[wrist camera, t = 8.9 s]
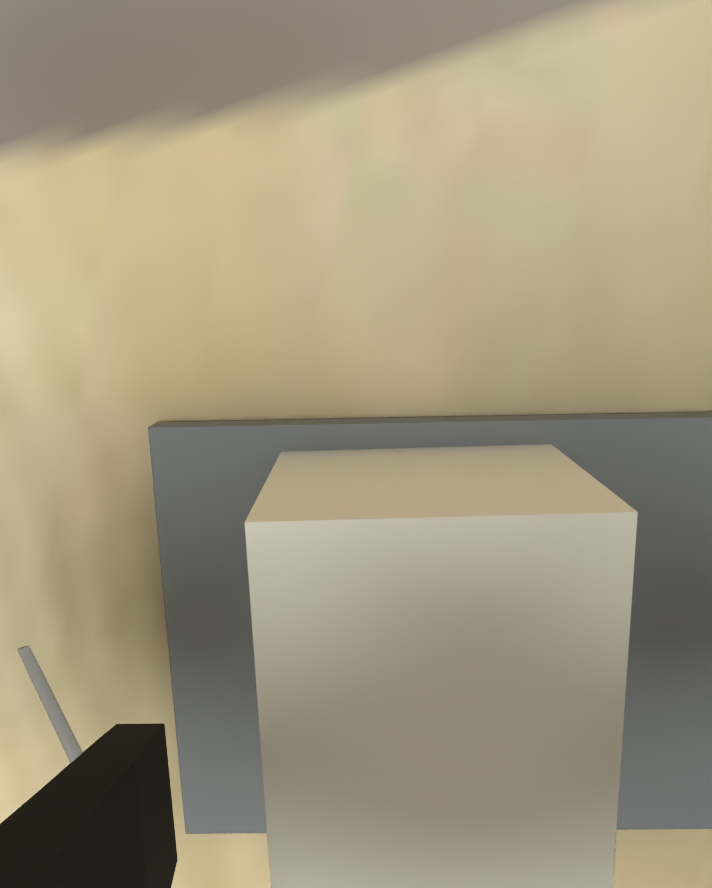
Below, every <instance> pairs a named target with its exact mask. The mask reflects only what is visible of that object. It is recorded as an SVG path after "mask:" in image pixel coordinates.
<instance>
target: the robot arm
mask: <svg viewBox="0 0 712 888" xmlns="http://www.w3.org/2000/svg"><path fill="white" fill-rule="evenodd" d="M176 863H177V851H176V841H175V830H174V820H173V809H172V799H171V788H170V778H169V768H168V757H167V747H166V736H165V726H164V724H116V725H115V726H114V727H113V728H111V729H110V730H109V731H108V732H106V733H105V734H104V735H103V736H102V737H100V738H99V739H98V740H97V741H96V742H95V743H93V744H92V745H91V746H90V747H89V748H88V749H86V750H85V751H84V752H83V753H82V754H81V755H80V756H78V757H77V758H76V759H75V760H74V761H73V762H72V763H70V764H69V765H68V766H67V767H66V768H65V769H64V770H62V771H61V772H60V773H59V774H58V775H57V776H56V777H54V778H53V779H52V780H51V781H50V782H49V783H48V784H46V785H45V786H44V787H43V788H42V789H41V790H39V791H38V792H37V793H36V794H35V795H34V796H32V797H31V798H30V799H29V800H28V801H27V802H25V803H24V804H23V805H22V806H21V807H20V808H18V809H17V810H16V811H15V812H14V813H13V814H11V815H10V816H9V817H8V818H7V819H6V820H4V821H3V822H2V823H1V824H0V888H171V885H172V880H173V876H174V872H175V867H176Z"/></svg>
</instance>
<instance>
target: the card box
mask: <svg viewBox="0 0 712 888" xmlns="http://www.w3.org/2000/svg"><path fill="white" fill-rule="evenodd" d="M637 515H638V512H637V511H636V510H635V509H633V508H632V507H631V506H629V505H628V504H627V503H626V502H624V501H623V500H622V499H621V498H619V497H618V496H617V495H615V494H614V493H613V492H612V491H610V490H609V489H608V488H607V487H605V486H604V485H603V484H601V483H600V482H599V481H598V480H596V479H595V478H594V477H593V476H591V475H590V474H589V473H587V472H586V471H585V470H584V469H582V468H581V467H580V466H579V465H577V464H576V463H575V462H573V461H572V460H571V459H570V458H568V457H567V456H566V455H565V454H563V453H562V452H561V451H559V450H558V449H557V448H556V447H554V446H553V445H552V444H538V445H502V446H466V447H431V448H395V449H359V450H324V451H288V452H281V453H280V455H279V457H278V459H277V461H276V463H275V465H274V467H273V468H272V470H271V472H270V474H269V476H268V478H267V480H266V482H265V484H264V486H263V488H262V490H261V492H260V494H259V495H258V497H257V499H256V501H255V503H254V505H253V507H252V509H251V511H250V513H249V515H248V517H247V519H246V521H245V535H246V549H247V563H248V577H249V591H250V605H251V618H252V632H253V646H254V660H255V674H256V688H257V702H258V715H259V729H260V743H261V757H262V771H263V785H264V799H265V812H266V826H267V840H268V854H269V868H270V882H271V888H612V887H613V872H614V857H615V843H616V828H617V813H618V798H619V783H620V768H621V753H622V738H623V723H624V709H625V694H626V679H627V664H628V649H629V634H630V619H631V604H632V589H633V575H634V560H635V545H636V530H637Z"/></svg>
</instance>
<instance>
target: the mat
mask: <svg viewBox="0 0 712 888" xmlns="http://www.w3.org/2000/svg"><path fill="white" fill-rule="evenodd" d="M148 431H149V441H150V452H151V463H152V474H153V485H154V496H155V507H156V517H157V528H158V539H159V550H160V561H161V572H162V583H163V593H164V604H165V615H166V626H167V637H168V648H169V659H170V670H171V680H172V691H173V702H174V713H175V724H176V735H177V746H178V756H179V767H180V778H181V789H182V800H183V811H184V822H185V832H186V834H213V833H267V826H266V812H265V799H264V785H263V771H262V757H261V743H260V729H259V715H258V702H257V688H256V674H255V660H254V646H253V632H252V618H251V605H250V591H249V577H248V563H247V549H246V535H245V521H246V519H247V517H248V515H249V513H250V511H251V509H252V507H253V505H254V503H255V501H256V499H257V497H258V495H259V494H260V492H261V490H262V488H263V486H264V484H265V482H266V480H267V478H268V476H269V474H270V472H271V470H272V468H273V467H274V465H275V463H276V461H277V459H278V457H279V455H280V453H281V452H288V451H324V450H359V449H395V448H431V447H466V446H502V445H538V444H552V445H553V446H554V447H556V448H557V449H558V450H559V451H561V452H562V453H563V454H565V455H566V456H567V457H568V458H570V459H571V460H572V461H573V462H575V463H576V464H577V465H579V466H580V467H581V468H582V469H584V470H585V471H586V472H587V473H589V474H590V475H591V476H593V477H594V478H595V479H596V480H598V481H599V482H600V483H601V484H603V485H604V486H605V487H607V488H608V489H609V490H610V491H612V492H613V493H614V494H615V495H617V496H618V497H619V498H621V499H622V500H623V501H624V502H626V503H627V504H628V505H629V506H631V507H632V508H633V509H635V510H636V511H637V512H638V515H637V530H636V545H635V560H634V575H633V589H632V604H631V619H630V634H629V649H628V664H627V679H626V694H625V709H624V723H623V738H622V753H621V768H620V783H619V798H618V813H617V828H616V830H619V829H712V412H675V413H620V414H566V415H511V416H456V417H402V418H347V419H292V420H238V421H183V422H157V423H155V424H153V425H152V426H150V427H148Z"/></svg>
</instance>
